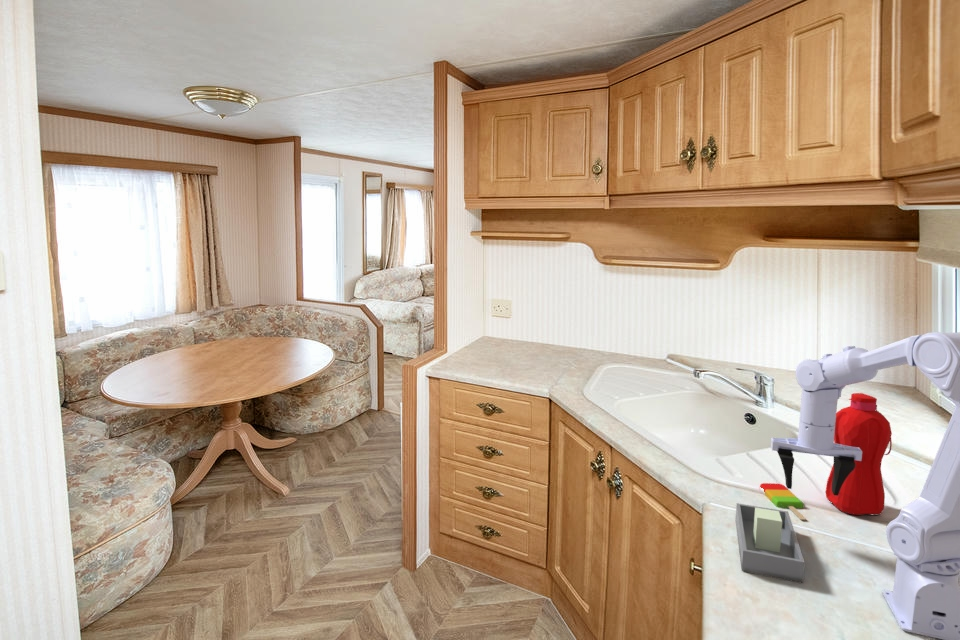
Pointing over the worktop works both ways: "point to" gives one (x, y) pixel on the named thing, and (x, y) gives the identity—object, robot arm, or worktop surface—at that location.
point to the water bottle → (872, 437)
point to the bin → (764, 561)
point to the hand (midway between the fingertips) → (811, 489)
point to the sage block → (767, 529)
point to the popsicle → (782, 497)
